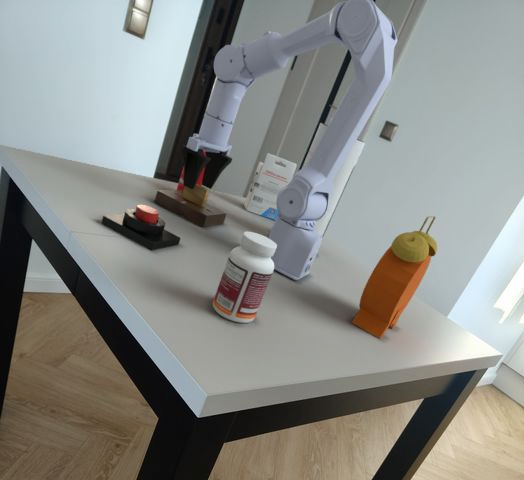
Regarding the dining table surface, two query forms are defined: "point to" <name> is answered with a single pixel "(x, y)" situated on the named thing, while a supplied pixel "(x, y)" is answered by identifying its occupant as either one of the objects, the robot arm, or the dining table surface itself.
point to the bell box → (141, 230)
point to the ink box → (268, 186)
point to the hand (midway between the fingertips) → (197, 187)
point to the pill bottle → (245, 278)
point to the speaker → (339, 179)
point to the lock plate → (190, 208)
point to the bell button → (146, 213)
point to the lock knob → (196, 195)
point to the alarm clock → (395, 281)
